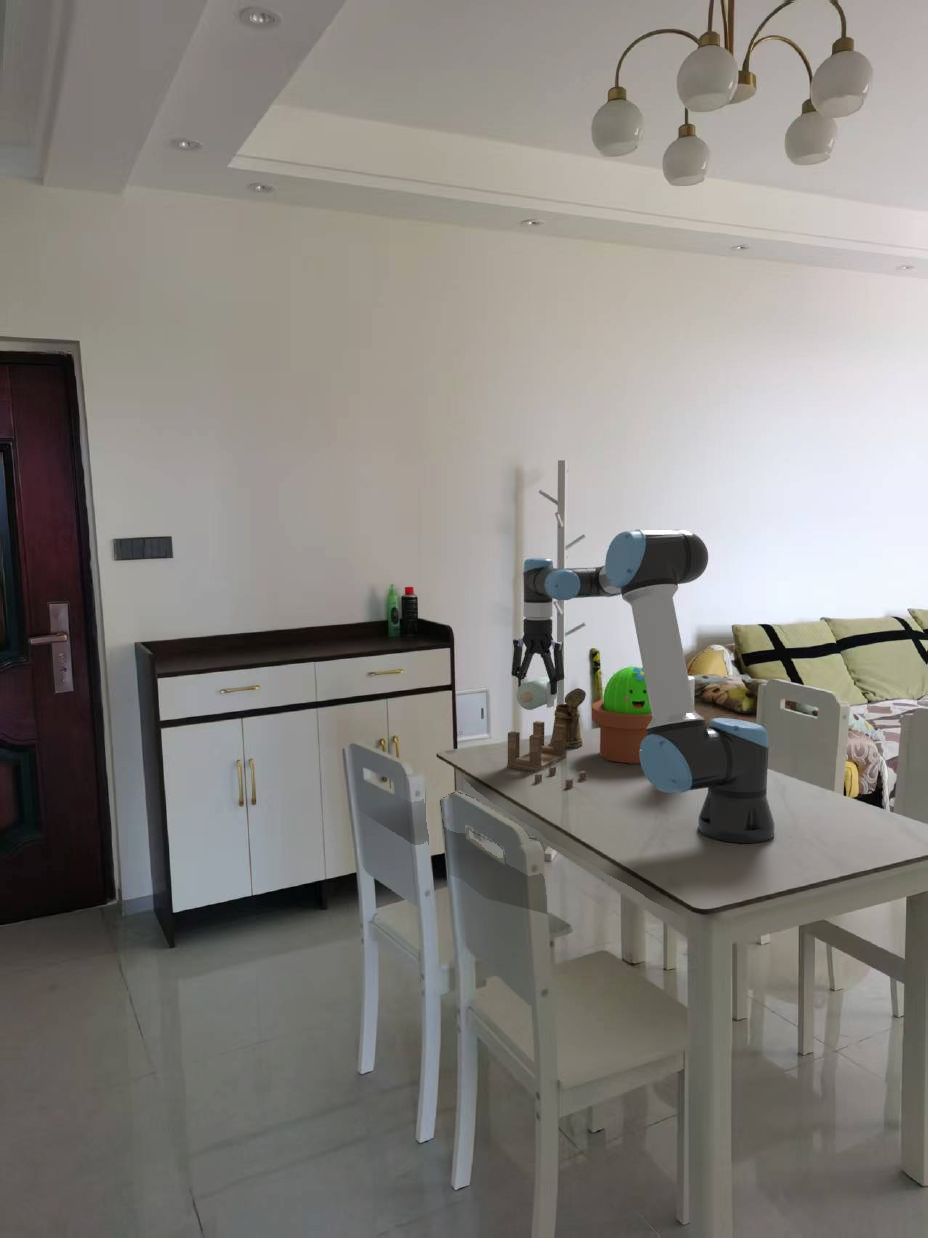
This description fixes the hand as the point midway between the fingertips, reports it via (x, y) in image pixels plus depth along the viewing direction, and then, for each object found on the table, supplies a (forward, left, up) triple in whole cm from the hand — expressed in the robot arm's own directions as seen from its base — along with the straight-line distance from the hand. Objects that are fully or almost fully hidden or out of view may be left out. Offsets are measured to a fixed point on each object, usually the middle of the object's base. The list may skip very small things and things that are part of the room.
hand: (537, 704), depth 244 cm
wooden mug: (+19, 0, -16) cm, 25 cm away
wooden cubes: (-12, -13, -15) cm, 23 cm away
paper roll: (0, 0, 0) cm, 0 cm away
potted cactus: (+19, -19, -16) cm, 31 cm away
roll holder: (0, 0, -15) cm, 15 cm away
